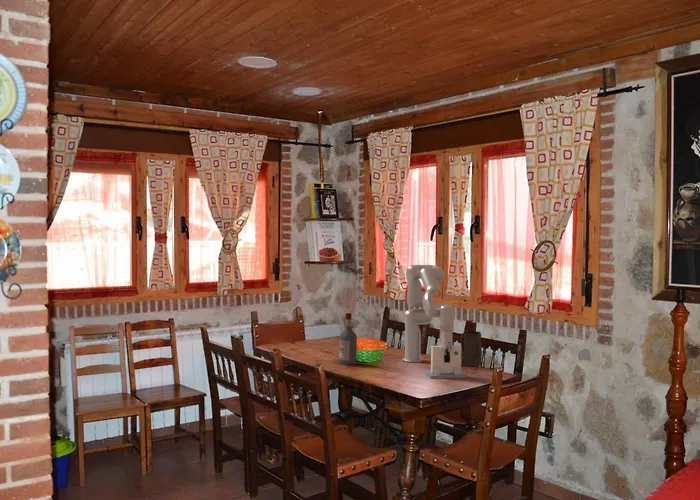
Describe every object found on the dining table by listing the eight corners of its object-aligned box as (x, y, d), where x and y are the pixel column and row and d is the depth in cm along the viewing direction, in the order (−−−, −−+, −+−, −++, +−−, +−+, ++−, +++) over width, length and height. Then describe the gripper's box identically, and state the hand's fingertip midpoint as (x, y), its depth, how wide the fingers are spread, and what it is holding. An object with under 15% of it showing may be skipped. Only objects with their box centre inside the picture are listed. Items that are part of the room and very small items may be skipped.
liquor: (346, 365, 353) (347, 314, 353) (337, 363, 360) (337, 312, 360) (358, 363, 359) (359, 313, 359) (348, 361, 366) (349, 311, 366)
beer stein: (486, 365, 361) (484, 331, 362) (475, 367, 354) (473, 333, 355) (465, 362, 373) (464, 330, 374) (454, 364, 366) (453, 331, 366)
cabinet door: (430, 371, 330) (431, 345, 330) (459, 371, 333) (459, 345, 332) (432, 373, 326) (433, 347, 326) (461, 372, 329) (462, 347, 328)
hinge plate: (425, 374, 334) (425, 364, 334) (460, 373, 336) (460, 363, 336) (430, 378, 324) (430, 368, 324) (466, 377, 326) (466, 367, 326)
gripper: (435, 326, 337) (435, 358, 338) (444, 330, 321) (443, 365, 321) (448, 326, 338) (448, 358, 339) (458, 330, 322) (457, 364, 322)
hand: (446, 361), depth 330 cm, fingers closed on cabinet door, 3 cm apart
